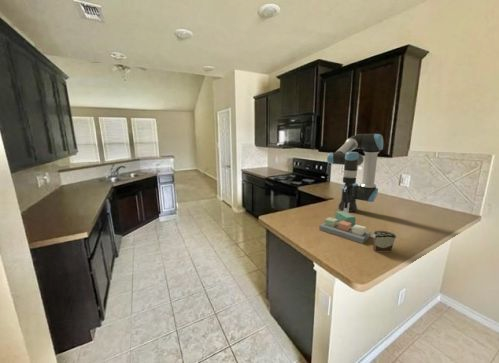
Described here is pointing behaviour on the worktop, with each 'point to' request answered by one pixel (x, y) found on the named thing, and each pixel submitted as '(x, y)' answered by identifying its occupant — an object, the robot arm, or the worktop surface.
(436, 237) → the worktop surface
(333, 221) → the sage button
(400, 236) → the worktop surface
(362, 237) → the button board
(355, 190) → the robot arm
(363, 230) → the pale grey block
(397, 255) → the worktop surface
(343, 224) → the terracotta button
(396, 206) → the worktop surface
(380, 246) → the food container
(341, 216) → the box
